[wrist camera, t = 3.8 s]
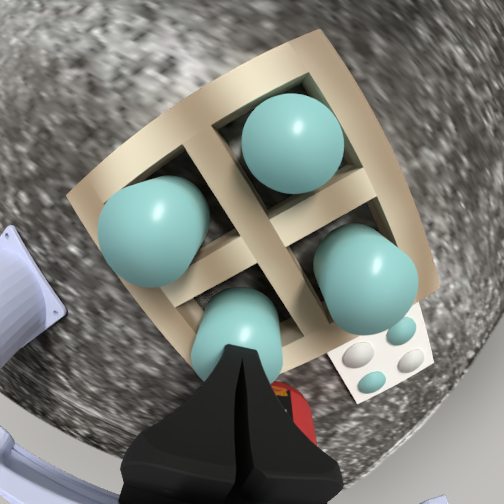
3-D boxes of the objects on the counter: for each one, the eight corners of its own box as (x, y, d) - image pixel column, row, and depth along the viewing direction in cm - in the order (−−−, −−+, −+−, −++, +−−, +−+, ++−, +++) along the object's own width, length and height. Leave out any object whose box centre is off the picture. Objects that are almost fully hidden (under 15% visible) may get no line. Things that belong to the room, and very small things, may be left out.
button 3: (332, 310, 15) (349, 350, 12) (299, 248, 14) (311, 279, 11) (397, 273, 14) (427, 305, 11) (370, 208, 13) (401, 227, 10)
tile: (356, 400, 20) (357, 405, 20) (324, 346, 19) (325, 351, 18) (431, 359, 19) (434, 363, 19) (415, 295, 17) (418, 300, 17)
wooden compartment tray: (223, 371, 19) (219, 397, 17) (89, 188, 15) (66, 195, 13) (421, 270, 17) (440, 287, 14) (311, 45, 13) (319, 28, 10)
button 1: (230, 359, 16) (224, 402, 13) (189, 307, 15) (172, 347, 12) (291, 331, 16) (298, 374, 12) (254, 273, 15) (252, 309, 11)
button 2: (161, 270, 15) (136, 303, 11) (117, 205, 14) (81, 222, 10) (226, 230, 14) (216, 256, 11) (180, 159, 13) (155, 162, 9)
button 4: (271, 198, 15) (275, 212, 12) (230, 131, 14) (222, 125, 11) (338, 160, 14) (361, 164, 11) (299, 93, 13) (311, 77, 10)
